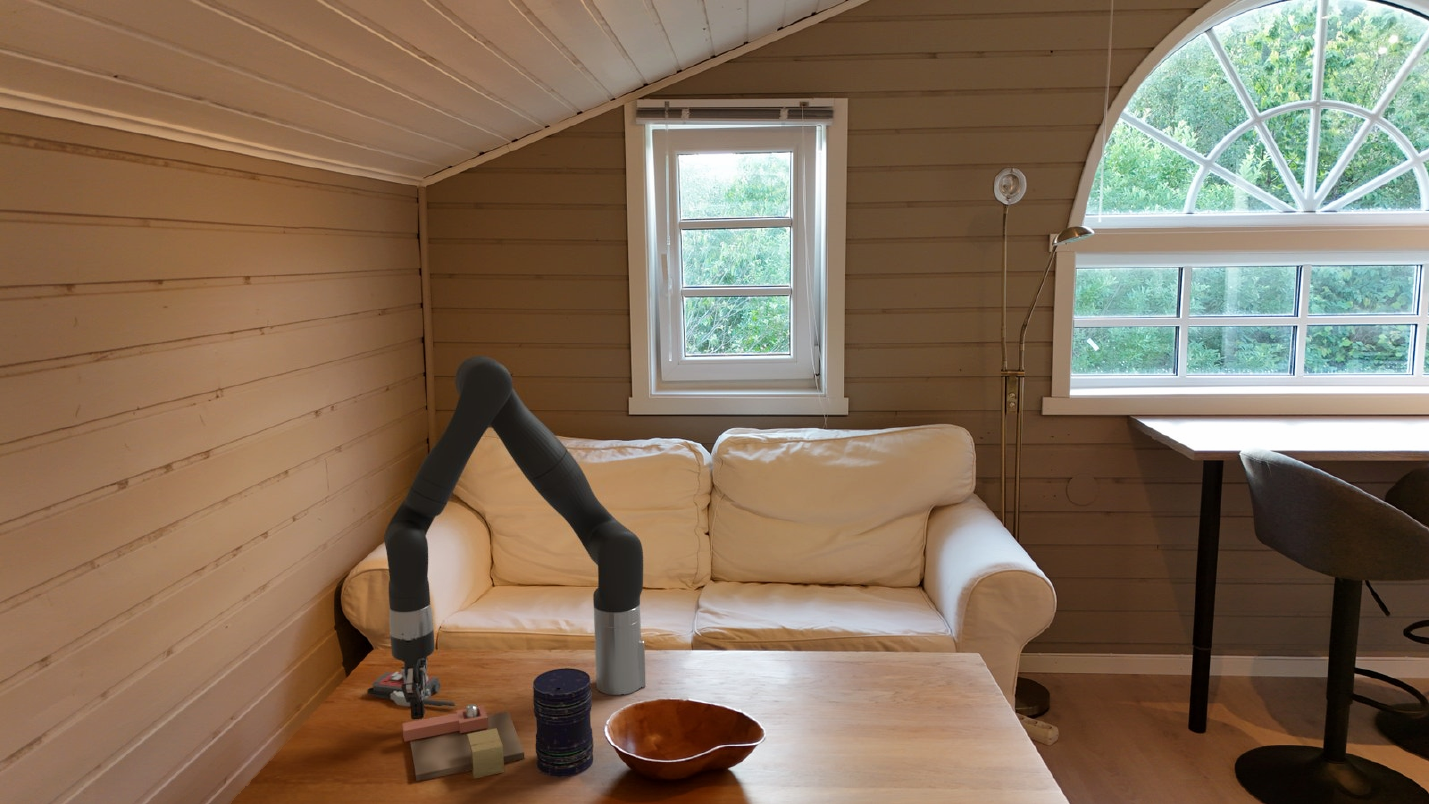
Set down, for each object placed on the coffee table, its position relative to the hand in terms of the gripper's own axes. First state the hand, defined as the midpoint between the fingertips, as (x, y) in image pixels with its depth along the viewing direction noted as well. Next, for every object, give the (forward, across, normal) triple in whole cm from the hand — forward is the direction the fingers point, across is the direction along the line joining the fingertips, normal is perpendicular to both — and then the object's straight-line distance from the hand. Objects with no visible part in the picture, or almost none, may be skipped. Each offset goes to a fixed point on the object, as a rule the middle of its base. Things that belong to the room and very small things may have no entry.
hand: (418, 717), depth 176 cm
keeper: (+2, +15, +14) cm, 20 cm away
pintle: (+2, +3, +10) cm, 11 cm away
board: (+2, +8, +9) cm, 13 cm away
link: (+1, +4, +5) cm, 7 cm away
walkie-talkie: (+3, -13, -2) cm, 14 cm away
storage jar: (+2, +16, +27) cm, 31 cm away
